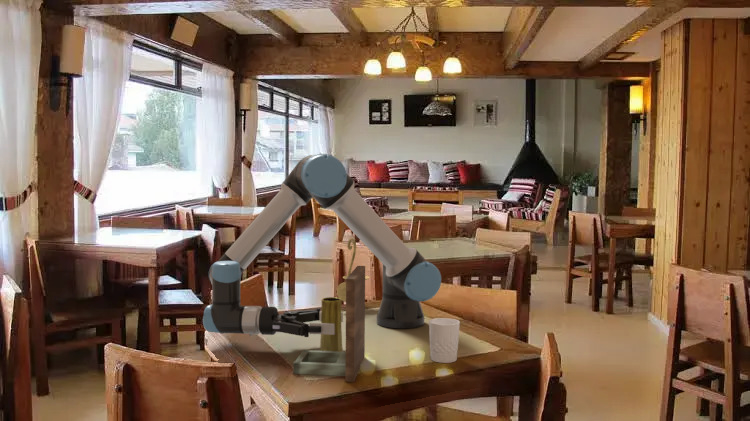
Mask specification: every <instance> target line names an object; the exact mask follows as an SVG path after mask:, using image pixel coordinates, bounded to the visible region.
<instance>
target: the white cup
mask: <svg viewBox="0 0 750 421" xmlns="http://www.w3.org/2000/svg"><path fill="white" fill-rule="evenodd" d="M460 323H461V322H460V320H458V319H455V318H449V317H435V318H432V319H428V327H429V328H428V333H429V334H428V335H429V350H430V359H431V361H432V362H436V363H439V364H441V363H442V364H449V363H450V364H451V363H454V362H456V361H457V360H458V349H459V342H460V341H459V340H460V325H461V324H460Z"/></svg>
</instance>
